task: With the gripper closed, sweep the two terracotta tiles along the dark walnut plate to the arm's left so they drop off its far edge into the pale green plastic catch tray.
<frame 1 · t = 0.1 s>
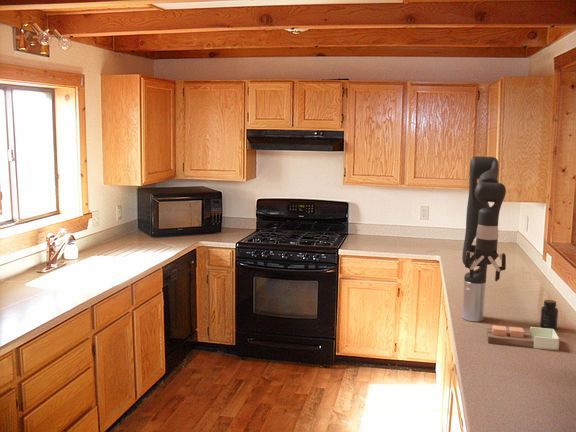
hand: (484, 280, 230), 29 cm above the worktop, fingers open, 8 cm apart
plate: (509, 340, 250), on the worktop
tile far: (516, 335, 249), point 2 cm above the worktop, touching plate
tile near: (499, 333, 251), point 2 cm above the worktop, touching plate
tray: (543, 343, 247), on the worktop
supplement bottle: (548, 328, 266), on the worktop
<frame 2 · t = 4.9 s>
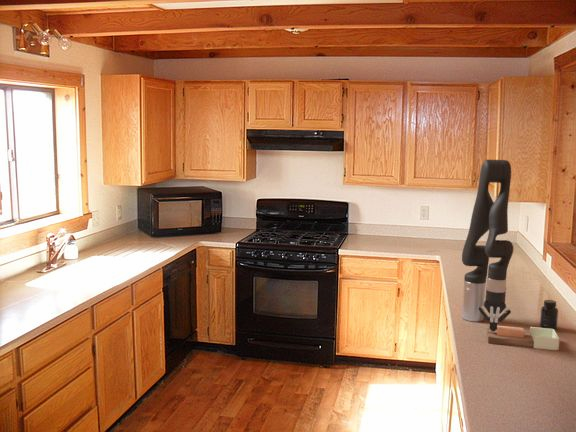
hand: (492, 330, 251), 4 cm above the worktop, fingers closed
tile far: (516, 335, 249), point 3 cm above the worktop, touching tile near
tile near: (503, 334, 250), point 3 cm above the worktop, touching gripper, tile far
everything else where it was.
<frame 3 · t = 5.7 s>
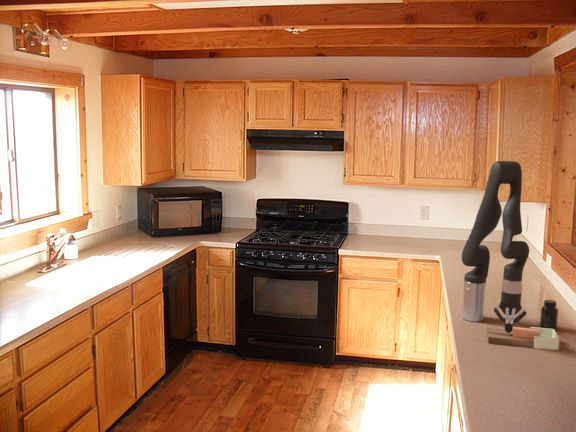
hand: (508, 332, 250), 4 cm above the worktop, fingers closed
tile far: (531, 336, 248), point 3 cm above the worktop
tile near: (518, 335, 249), point 3 cm above the worktop, touching gripper
everything else where it was.
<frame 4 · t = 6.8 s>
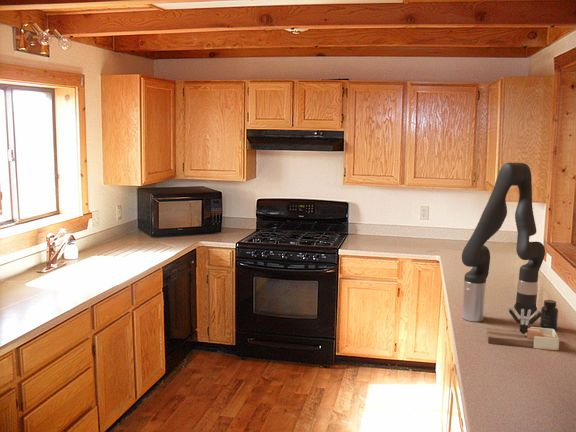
hand: (523, 333, 248), 4 cm above the worktop, fingers closed
tile far: (546, 342, 247), point 1 cm above the worktop, touching tile near, tray
tile near: (533, 336, 248), point 2 cm above the worktop, touching gripper, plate, tile far
everything else where it was.
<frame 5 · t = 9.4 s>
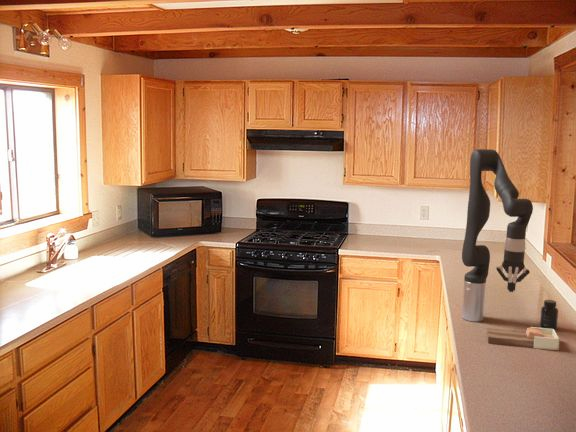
hand: (510, 291, 247), 20 cm above the worktop, fingers closed
tile near: (533, 336, 248), point 2 cm above the worktop, tilted 9°, touching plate, tile far
everything else where it was.
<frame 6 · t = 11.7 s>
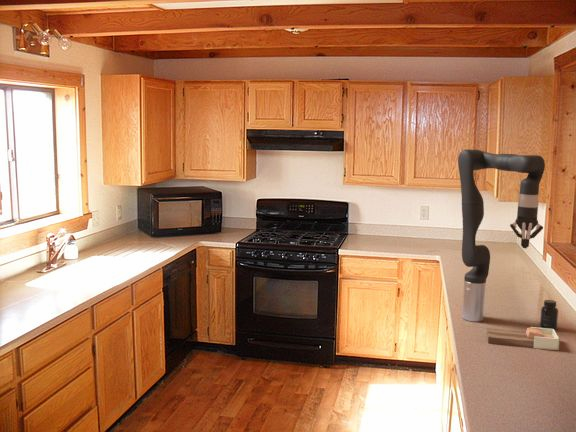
hand: (524, 247, 250), 37 cm above the worktop, fingers closed
nothing on the worktop moved.
at the end: tile near inside the target area (3.9 cm from its centre), point 2.4 cm above the worktop; tile far inside the target area (1.2 cm from its centre), point 0.6 cm above the worktop; tile near point 2.4 cm above the worktop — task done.
